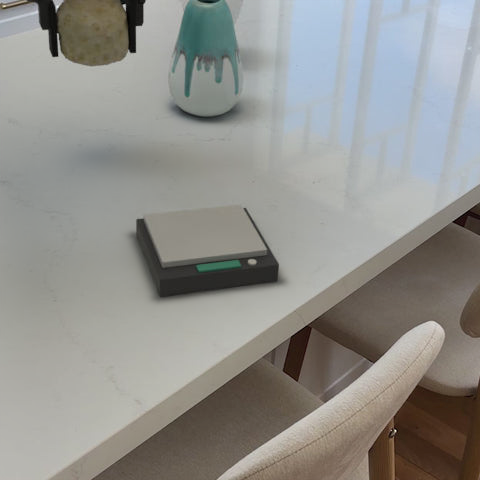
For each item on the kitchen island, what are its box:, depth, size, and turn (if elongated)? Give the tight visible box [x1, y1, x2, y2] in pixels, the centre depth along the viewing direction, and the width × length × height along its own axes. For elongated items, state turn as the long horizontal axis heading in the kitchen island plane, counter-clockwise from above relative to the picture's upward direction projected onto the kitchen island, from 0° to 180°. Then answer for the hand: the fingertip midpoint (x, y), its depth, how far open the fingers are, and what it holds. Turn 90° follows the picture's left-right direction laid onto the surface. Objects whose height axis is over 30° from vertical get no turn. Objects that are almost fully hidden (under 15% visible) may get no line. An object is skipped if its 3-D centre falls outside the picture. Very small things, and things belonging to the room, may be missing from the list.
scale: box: [135, 204, 280, 298], centre depth 105 cm, size 14×13×3 cm
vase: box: [167, 0, 244, 117], centre depth 136 cm, size 12×12×18 cm
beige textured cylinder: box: [56, 0, 129, 67], centre depth 115 cm, size 9×10×10 cm
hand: (93, 51), depth 116 cm, fingers closed on beige textured cylinder, 9 cm apart
